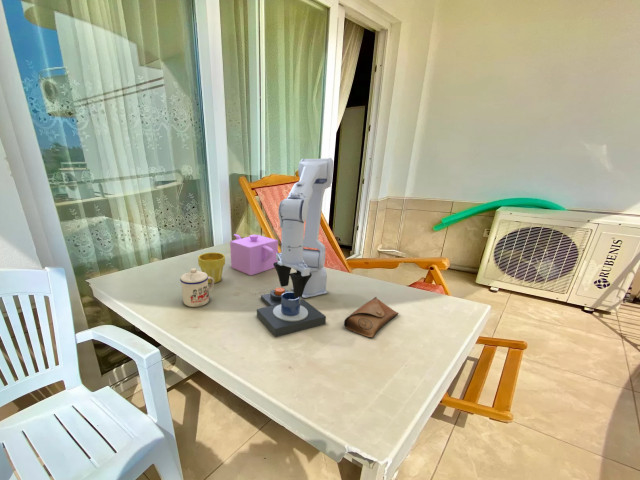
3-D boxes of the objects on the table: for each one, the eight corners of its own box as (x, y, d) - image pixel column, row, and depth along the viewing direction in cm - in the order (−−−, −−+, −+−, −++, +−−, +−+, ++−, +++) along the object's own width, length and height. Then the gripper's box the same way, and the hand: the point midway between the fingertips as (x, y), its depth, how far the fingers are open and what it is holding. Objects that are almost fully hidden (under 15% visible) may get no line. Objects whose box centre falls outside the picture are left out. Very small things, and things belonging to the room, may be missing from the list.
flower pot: (231, 277, 120) (230, 254, 117) (215, 287, 112) (214, 262, 109) (210, 273, 126) (209, 250, 122) (194, 281, 117) (192, 258, 114)
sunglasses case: (374, 338, 78) (363, 314, 78) (350, 340, 83) (340, 318, 83) (400, 312, 89) (391, 291, 90) (378, 316, 95) (369, 296, 95)
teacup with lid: (191, 310, 96) (188, 276, 92) (177, 301, 103) (174, 268, 98) (222, 298, 103) (220, 266, 99) (207, 290, 110) (204, 260, 106)
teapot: (248, 255, 145) (247, 227, 140) (285, 269, 126) (286, 237, 122) (222, 263, 137) (220, 232, 132) (258, 279, 118) (257, 244, 113)
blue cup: (293, 305, 91) (294, 290, 89) (303, 313, 86) (304, 298, 84) (277, 309, 89) (277, 293, 87) (286, 317, 84) (287, 301, 82)
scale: (302, 305, 96) (302, 297, 95) (325, 324, 86) (326, 315, 85) (256, 316, 91) (256, 307, 90) (275, 337, 81) (275, 327, 80)
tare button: (281, 291, 101) (281, 286, 101) (286, 294, 98) (286, 290, 98) (273, 292, 100) (273, 288, 99) (277, 296, 97) (277, 292, 97)
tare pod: (287, 293, 105) (287, 285, 104) (299, 303, 98) (299, 294, 97) (260, 298, 102) (260, 290, 101) (271, 309, 95) (271, 300, 94)
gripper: (266, 239, 86) (266, 283, 90) (293, 254, 73) (291, 304, 78) (288, 236, 88) (287, 279, 93) (318, 250, 75) (315, 299, 80)
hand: (290, 290), depth 85 cm, fingers open, 7 cm apart
